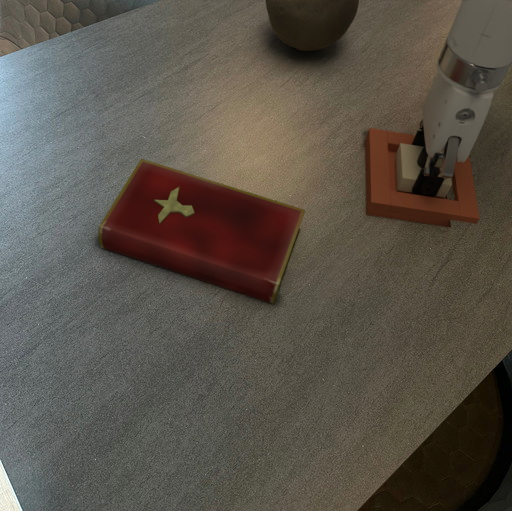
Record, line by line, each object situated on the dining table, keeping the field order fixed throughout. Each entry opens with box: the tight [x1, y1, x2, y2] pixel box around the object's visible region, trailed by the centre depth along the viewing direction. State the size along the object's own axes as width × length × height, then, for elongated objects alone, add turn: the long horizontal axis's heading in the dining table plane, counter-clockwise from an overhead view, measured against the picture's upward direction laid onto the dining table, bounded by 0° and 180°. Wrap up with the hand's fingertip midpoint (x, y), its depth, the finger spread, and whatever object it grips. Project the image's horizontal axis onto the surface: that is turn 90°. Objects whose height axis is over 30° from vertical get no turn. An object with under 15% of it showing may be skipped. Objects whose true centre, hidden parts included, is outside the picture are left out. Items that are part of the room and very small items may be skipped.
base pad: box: [364, 127, 481, 228], centre depth 84 cm, size 14×14×2 cm
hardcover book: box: [97, 158, 306, 305], centre depth 73 cm, size 12×21×4 cm, turn 73°
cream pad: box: [395, 143, 453, 198], centre depth 82 cm, size 6×6×4 cm
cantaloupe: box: [265, 0, 360, 52], centre depth 95 cm, size 14×14×15 cm
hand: (421, 173), depth 84 cm, fingers closed on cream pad, 6 cm apart
